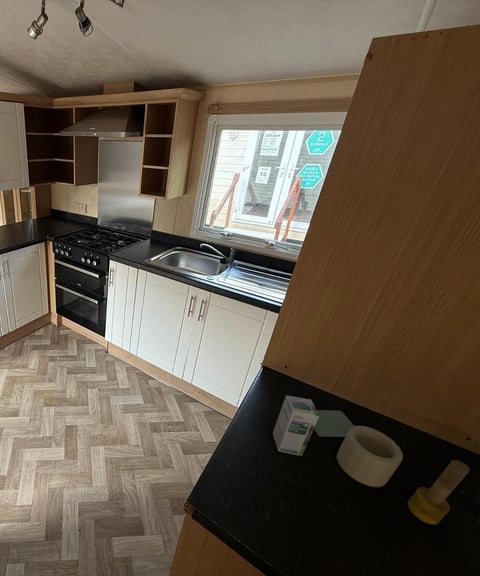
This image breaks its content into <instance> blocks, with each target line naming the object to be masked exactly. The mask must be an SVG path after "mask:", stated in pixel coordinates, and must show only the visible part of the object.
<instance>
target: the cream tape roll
mask: <svg viewBox="0 0 480 576" xmlns="http://www.w3.org/2000/svg"><path fill="white" fill-rule="evenodd" d="M403 458H404V454H403V452H402V450H401V448H400V446H399V445H398V444H396V442H395V441H394V440H393V439H392V438H390V437H389V436H387V435H386V434H385V433H383V432H381V431H379V430H377V429H375V428H372V427H368V426H365V425H354V427H352V428H350V430H349V432H348V434H347V435H346V437H344V439H343V441H342V443H341V444H340V447H339V448H338V451H337V452H336V460H337V463H338V464H339V466H340V468H341V469H342V470H343V471H344V472H345V473H346V474H347V475H348V476H350V477H351V478H352V479H353V480H355V481H356V482H359V483H361V484H363V485H364V486H367V487H372V488H382V487H384V486H385V485H386V484H387V483H388V482H389V481H390V479H391V478H392V476H393V475H394V473H395V472H396V470H397V469H398V467H399V466H400V464H401V463H402V461H403Z"/></svg>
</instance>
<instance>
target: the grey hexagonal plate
mask: <svg viewBox="0 0 480 576" xmlns="http://www.w3.org/2000/svg"><path fill="white" fill-rule="evenodd" d="M316 410H317V412H318V415H319V418H318V420H317V423H316V425H315V427H314V430H313V431H314V432H315V433H316V435H317V436H318V437H321V438H322V437H324V438H329V437H330V438H345V437H346V435H347V434H348V432H349V430H350V428H352V427H354V426H355V425H354V423H352V421H351V420H350V419H349V418H348V417H347V416H346V415H345V413H344V412H343V411H342V410H329V409H328V410H325V409H316Z"/></svg>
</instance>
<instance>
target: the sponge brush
mask: <svg viewBox="0 0 480 576" xmlns="http://www.w3.org/2000/svg"><path fill="white" fill-rule="evenodd" d="M469 472H470V467H469V466H468V465H467V464H465V463H464V462H462V461H460V460H457V459H453V460H451V461H450V463H448V465H447V467H446V468H445V469H444V470H443V472H442V473H441V474H440V475H439V476H438V477H437V478H436V480H435V482H434V483H433V484H432V485H431V487H430V488H428V487H425V486H421V487H418V488H417V489H416V490H415V491H414V493H413V494H412V495H411V497H410V498H409V500H408V501H407V508H408V509H409V511H410V512H411V513H412V514H413V516H415V517H416V518H418V519H419V520H420V521H422V522H424V523H426V524H428V525H434V526H435V525H438V524H439V523H440V522H441V521H442V520H443V518H444V517H445V516H446V515H447V514H448V513H449V512H450V510H451V506H450V504H449V502H448V501H447V500H446V499H447V498H448V497H449V496H450V495H451V493H452V492H453V491H454V490H455V488H457V487H458V485H459V484H460V483H461V482H462V481H463V479H464V478H465V477H466V476H467V474H469Z"/></svg>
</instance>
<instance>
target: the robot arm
mask: <svg viewBox="0 0 480 576" xmlns="http://www.w3.org/2000/svg"><path fill="white" fill-rule="evenodd" d="M455 500H456V501H457V502H458V503H459V504H460V505H461V507H463V508H464V509H465V510H467V512H469V513H470V514H471V515H472V516H473V517H474V518H475V519H476V520H477V522H476V524H475V525H474V526H473V529H474V530H475V531H476V532H477V533H478V534H479V535H480V503H479V502H478V500H476V499H475V498H474V497H473V496H471V495H470V494H469V493H468V492H466V491H464V490H461V491H458V492H457V494H456V495H455Z"/></svg>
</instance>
